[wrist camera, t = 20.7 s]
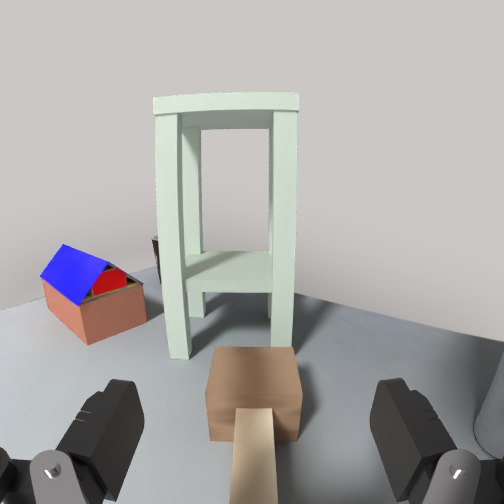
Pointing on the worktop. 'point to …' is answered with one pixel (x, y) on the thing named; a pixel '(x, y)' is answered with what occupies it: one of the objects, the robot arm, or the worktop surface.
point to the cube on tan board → (253, 414)
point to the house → (92, 295)
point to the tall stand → (190, 210)
